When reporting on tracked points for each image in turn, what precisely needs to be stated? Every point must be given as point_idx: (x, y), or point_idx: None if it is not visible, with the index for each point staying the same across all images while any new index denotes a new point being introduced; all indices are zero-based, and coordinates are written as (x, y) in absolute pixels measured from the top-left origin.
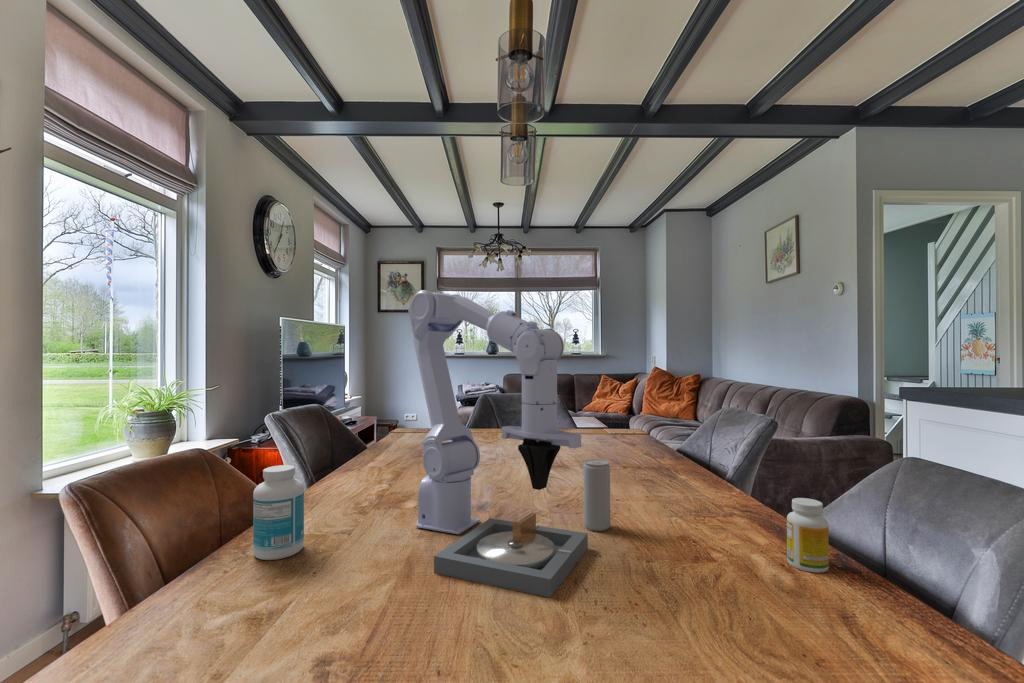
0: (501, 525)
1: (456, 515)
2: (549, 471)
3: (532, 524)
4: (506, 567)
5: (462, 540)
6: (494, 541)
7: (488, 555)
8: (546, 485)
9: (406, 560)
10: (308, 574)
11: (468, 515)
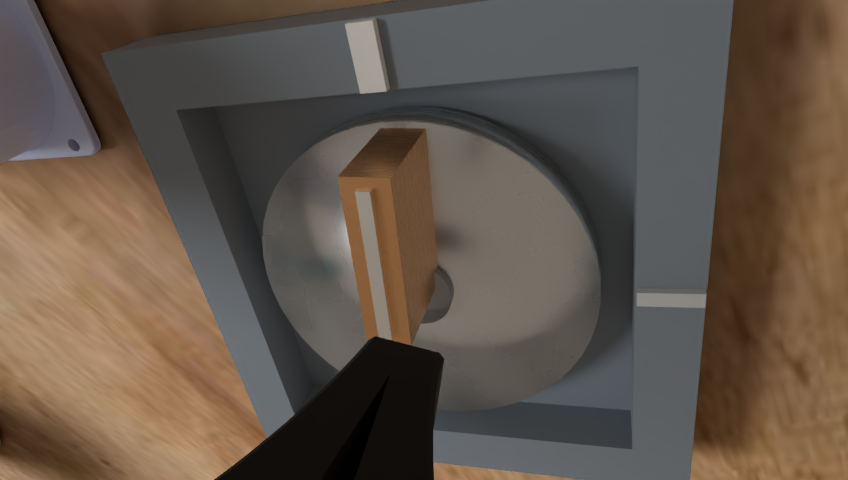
0: (211, 104)
1: (2, 145)
2: (430, 472)
3: (411, 197)
4: (506, 456)
5: (235, 329)
6: (325, 284)
7: None
8: (440, 368)
9: (175, 368)
10: (106, 470)
11: (2, 68)
